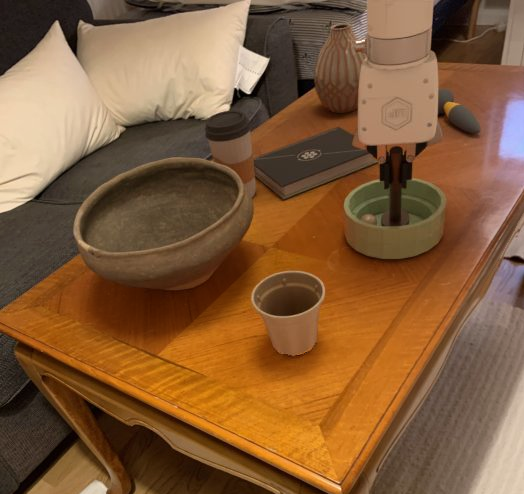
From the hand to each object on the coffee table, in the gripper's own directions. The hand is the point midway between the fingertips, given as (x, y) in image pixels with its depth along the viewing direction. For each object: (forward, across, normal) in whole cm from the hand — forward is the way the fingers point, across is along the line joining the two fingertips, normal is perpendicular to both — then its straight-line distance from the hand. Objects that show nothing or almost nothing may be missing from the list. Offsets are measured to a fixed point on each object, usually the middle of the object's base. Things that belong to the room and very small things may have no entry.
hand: (395, 183), depth 76 cm
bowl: (+11, -34, -8) cm, 37 cm away
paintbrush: (+11, +11, +46) cm, 49 cm away
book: (+11, -17, +27) cm, 34 cm away
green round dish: (+11, 0, +3) cm, 11 cm away
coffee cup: (+11, -30, +17) cm, 36 cm away
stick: (+8, 0, +2) cm, 8 cm away
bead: (+10, -5, +3) cm, 12 cm away
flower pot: (+11, -12, -23) cm, 28 cm away
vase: (+11, -14, +57) cm, 60 cm away
